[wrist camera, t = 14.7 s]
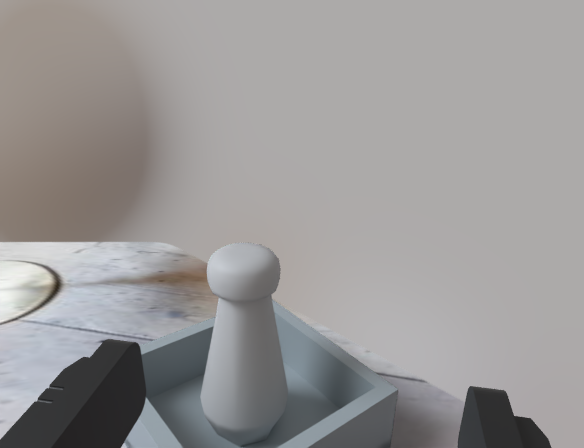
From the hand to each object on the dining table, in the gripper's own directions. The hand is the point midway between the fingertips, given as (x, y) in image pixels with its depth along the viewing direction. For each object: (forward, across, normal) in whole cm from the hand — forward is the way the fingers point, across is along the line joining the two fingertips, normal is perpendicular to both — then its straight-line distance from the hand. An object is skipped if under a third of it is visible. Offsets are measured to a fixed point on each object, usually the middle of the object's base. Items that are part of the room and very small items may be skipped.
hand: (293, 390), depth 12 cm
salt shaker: (+15, +6, +18) cm, 24 cm away
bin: (+15, +6, +19) cm, 25 cm away
